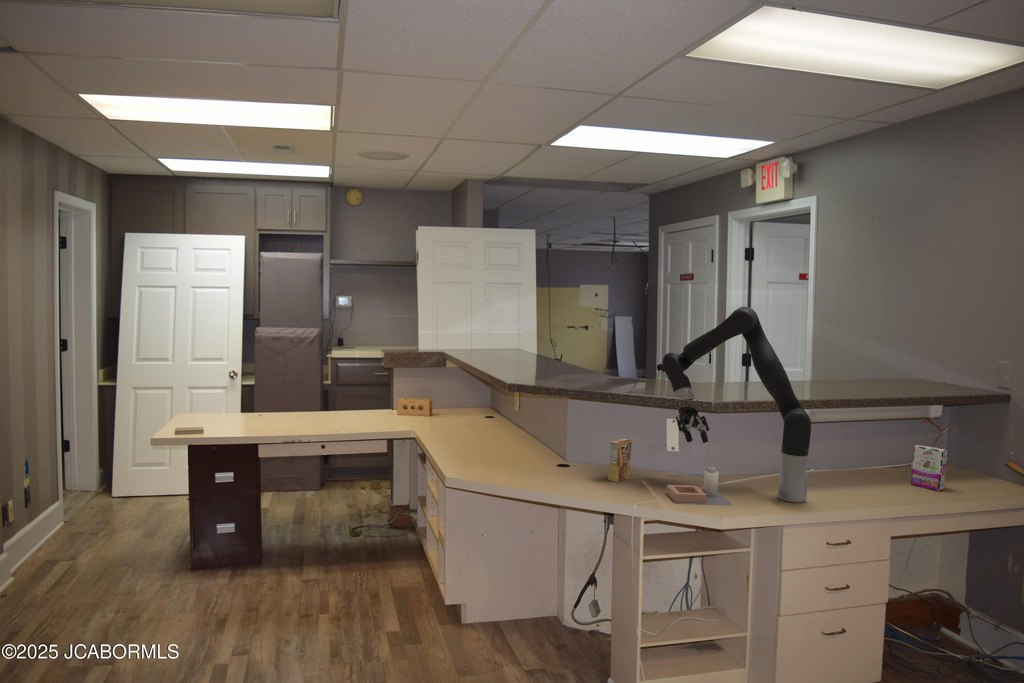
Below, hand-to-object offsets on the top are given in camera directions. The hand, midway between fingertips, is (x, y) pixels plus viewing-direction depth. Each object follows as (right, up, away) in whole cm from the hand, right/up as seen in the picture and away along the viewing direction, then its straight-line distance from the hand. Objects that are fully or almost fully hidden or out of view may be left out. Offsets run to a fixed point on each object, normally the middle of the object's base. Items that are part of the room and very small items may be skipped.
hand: (698, 442), depth 277 cm
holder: (-3, -20, -11) cm, 22 cm away
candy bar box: (+98, -22, +24) cm, 104 cm away
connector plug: (+3, -18, -6) cm, 20 cm away
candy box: (-28, -16, +12) cm, 35 cm away
